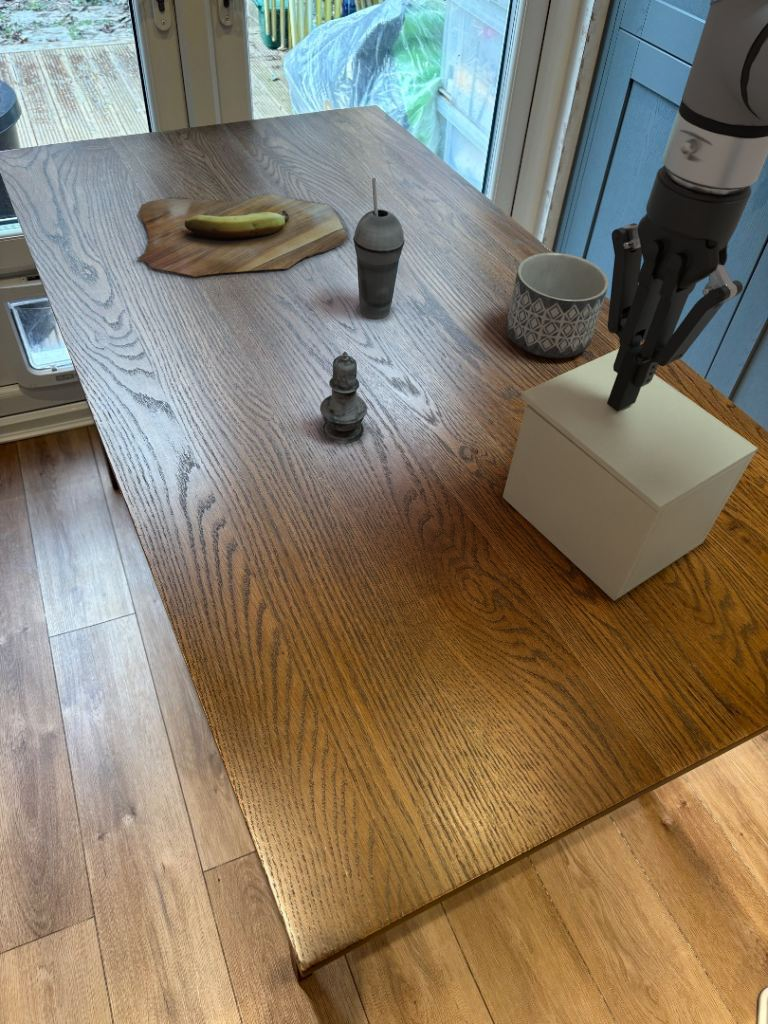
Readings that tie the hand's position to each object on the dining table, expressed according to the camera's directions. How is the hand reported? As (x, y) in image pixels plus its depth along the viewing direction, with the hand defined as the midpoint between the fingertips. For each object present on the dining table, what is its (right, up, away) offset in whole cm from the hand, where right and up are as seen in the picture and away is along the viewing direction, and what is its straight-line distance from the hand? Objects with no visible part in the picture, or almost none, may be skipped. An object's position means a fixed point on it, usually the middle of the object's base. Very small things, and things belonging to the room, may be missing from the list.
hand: (621, 402), depth 78 cm
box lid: (+1, -2, 0) cm, 3 cm away
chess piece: (-30, -1, +18) cm, 35 cm away
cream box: (+1, -12, +10) cm, 16 cm away
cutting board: (-49, +36, +50) cm, 79 cm away
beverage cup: (-26, +19, +36) cm, 49 cm away
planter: (0, +14, +34) cm, 37 cm away
